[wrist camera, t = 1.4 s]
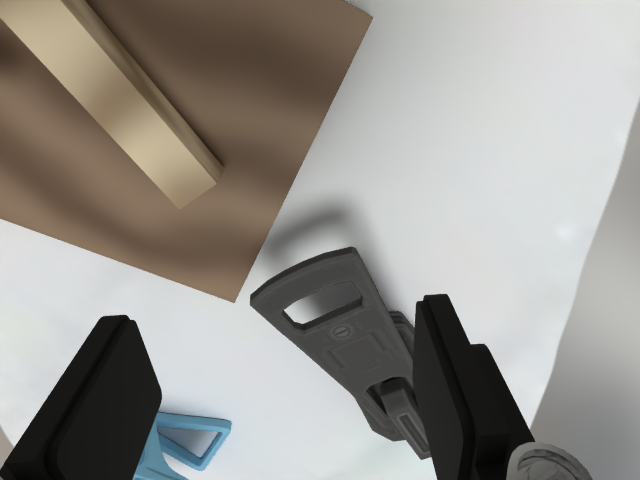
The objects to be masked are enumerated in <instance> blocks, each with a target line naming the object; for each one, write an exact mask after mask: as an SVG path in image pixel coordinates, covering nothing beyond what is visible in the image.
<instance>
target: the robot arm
mask: <svg viewBox="0 0 640 480" xmlns="http://www.w3.org/2000/svg"><path fill="white" fill-rule="evenodd" d="M412 380H413V387H414V391H415V395H416V399H417V403H418V407H419V411H420V414H421V418H422V422H423V426H424V430H425V434H426V437H427V441H428V445H429V449H430V453H431V457H432V461H433V464H434V468H435V472H436V476H437V480H592V477H591V476H590V474H589V472H588V470H587V469H586V468H585V467H584V466H583V465H582V464H581V463H580V462H579V461H578V459H576V458H575V457H573V456H572V455H571V454H569V453H568V452H566V451H565V450H563V449H561V448H559V447H556V446H554V445H551V444H546V443H542V442H535V440H534V438H533V436H532V434H531V432H530V430H529V428H528V426H527V424H526V422H525V420H524V418H523V416H522V414H521V412H520V410H519V408H518V406H517V404H516V402H515V400H514V398H513V396H512V394H511V392H510V390H509V388H508V386H507V384H506V382H505V380H504V378H503V376H502V374H501V372H500V370H499V368H498V366H497V364H496V362H495V360H494V358H493V356H492V354H491V352H490V351H489V349H488V347H487V346H486V345H485V344H470V342H469V340H468V338H467V336H466V334H465V331H464V329H463V327H462V325H461V323H460V320H459V318H458V316H457V314H456V312H455V309H454V307H453V305H452V303H451V301H450V299H449V297H448V295H447V294H437V295H425V296H424V298H423V301H417V303H416V315H415V333H414V351H413V370H412ZM161 400H162V392H161V388H160V385H159V383H158V380H157V377H156V375H155V372H154V369H153V367H152V364H151V361H150V358H149V356H148V353H147V350H146V348H145V345H144V342H143V340H142V337H141V334H140V331H139V329H138V326H137V324H136V322H135V321H134V320H130V319H129V317H128V316H127V315H115V316H103V317H101V318H100V319H99V321H98V322H97V324H96V325H95V327H94V328H93V330H92V331H91V333H90V334H89V336H88V337H87V339H86V340H85V342H84V343H83V345H82V346H81V348H80V349H79V351H78V352H77V354H76V355H75V357H74V358H73V360H72V361H71V363H70V364H69V366H68V367H67V369H66V370H65V372H64V373H63V375H62V376H61V378H60V379H59V381H58V382H57V384H56V386H55V387H54V389H53V390H52V392H51V393H50V395H49V396H48V398H47V399H46V401H45V402H44V404H43V405H42V407H41V408H40V410H39V411H38V413H37V414H36V416H35V417H34V419H33V420H32V422H31V423H30V425H29V426H28V428H27V429H26V431H25V432H24V434H23V435H22V437H21V438H20V440H19V441H18V443H17V444H16V446H15V447H14V449H13V451H12V452H11V453H10V455H9V456H8V458H7V460H6V461H5V463H4V465H3V466H2V468H1V470H0V480H133V477H134V474H135V471H136V469H137V466H138V463H139V461H140V458H141V455H142V453H143V450H144V447H145V445H146V442H147V439H148V437H149V434H150V431H151V429H152V426H153V423H154V421H155V418H156V415H157V413H158V410H159V407H160V404H161Z"/></svg>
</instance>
